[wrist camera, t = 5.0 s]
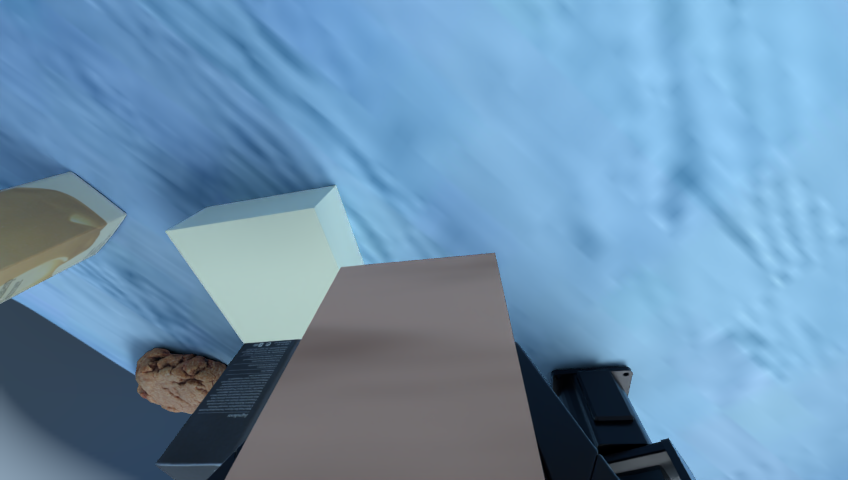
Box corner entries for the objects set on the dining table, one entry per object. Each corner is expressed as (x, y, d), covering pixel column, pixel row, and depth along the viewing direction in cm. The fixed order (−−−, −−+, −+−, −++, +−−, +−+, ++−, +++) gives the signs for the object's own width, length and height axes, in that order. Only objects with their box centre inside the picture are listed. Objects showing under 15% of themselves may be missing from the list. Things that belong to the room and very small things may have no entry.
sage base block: (377, 296, 25) (365, 334, 22) (270, 307, 27) (243, 343, 23) (337, 183, 20) (313, 207, 17) (210, 204, 22) (164, 231, 19)
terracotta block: (501, 360, 12) (539, 597, 6) (377, 365, 12) (323, 581, 7) (495, 253, 9) (548, 495, 4) (340, 266, 10) (220, 486, 5)
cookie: (261, 393, 34) (245, 420, 31) (192, 406, 36) (172, 432, 34) (199, 332, 29) (175, 358, 27) (126, 352, 32) (97, 377, 29)
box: (246, 337, 29) (150, 465, 20) (300, 333, 28) (225, 465, 19) (281, 388, 32) (214, 515, 23) (330, 386, 31) (280, 518, 22)
